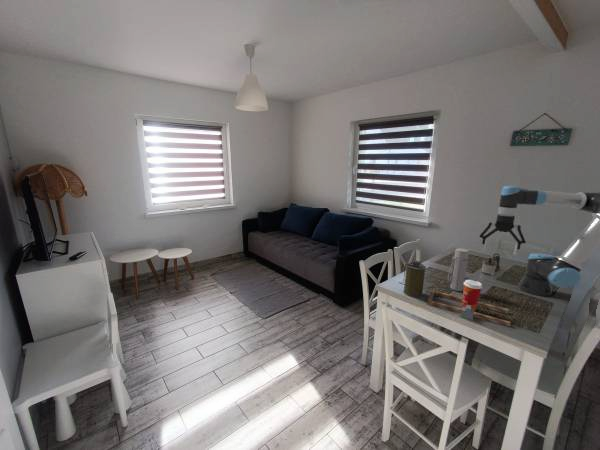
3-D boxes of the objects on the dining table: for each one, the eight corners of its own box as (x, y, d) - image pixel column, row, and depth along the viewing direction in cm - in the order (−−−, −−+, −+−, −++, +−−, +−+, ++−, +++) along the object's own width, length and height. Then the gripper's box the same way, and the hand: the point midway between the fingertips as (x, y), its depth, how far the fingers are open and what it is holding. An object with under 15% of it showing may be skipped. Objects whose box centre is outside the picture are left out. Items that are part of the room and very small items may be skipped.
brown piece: (507, 312, 136) (508, 308, 136) (509, 327, 124) (510, 322, 124) (432, 293, 156) (432, 289, 155) (427, 304, 144) (427, 299, 143)
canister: (423, 291, 158) (427, 260, 153) (421, 299, 149) (425, 266, 144) (404, 287, 163) (407, 256, 158) (401, 294, 154) (404, 262, 150)
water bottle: (461, 287, 164) (467, 248, 159) (465, 292, 157) (471, 252, 151) (444, 285, 167) (450, 247, 161) (448, 290, 159) (453, 251, 154)
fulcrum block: (473, 316, 132) (474, 306, 131) (472, 320, 129) (474, 310, 128) (461, 313, 135) (463, 303, 134) (460, 317, 132) (462, 307, 131)
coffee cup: (461, 303, 145) (465, 277, 142) (478, 308, 140) (483, 282, 137) (458, 309, 139) (462, 283, 135) (476, 315, 134) (481, 287, 130)
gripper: (535, 216, 139) (527, 254, 143) (478, 211, 152) (472, 246, 157) (537, 218, 133) (529, 258, 137) (478, 213, 146) (472, 249, 151)
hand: (499, 252), depth 147 cm, fingers open, 13 cm apart
